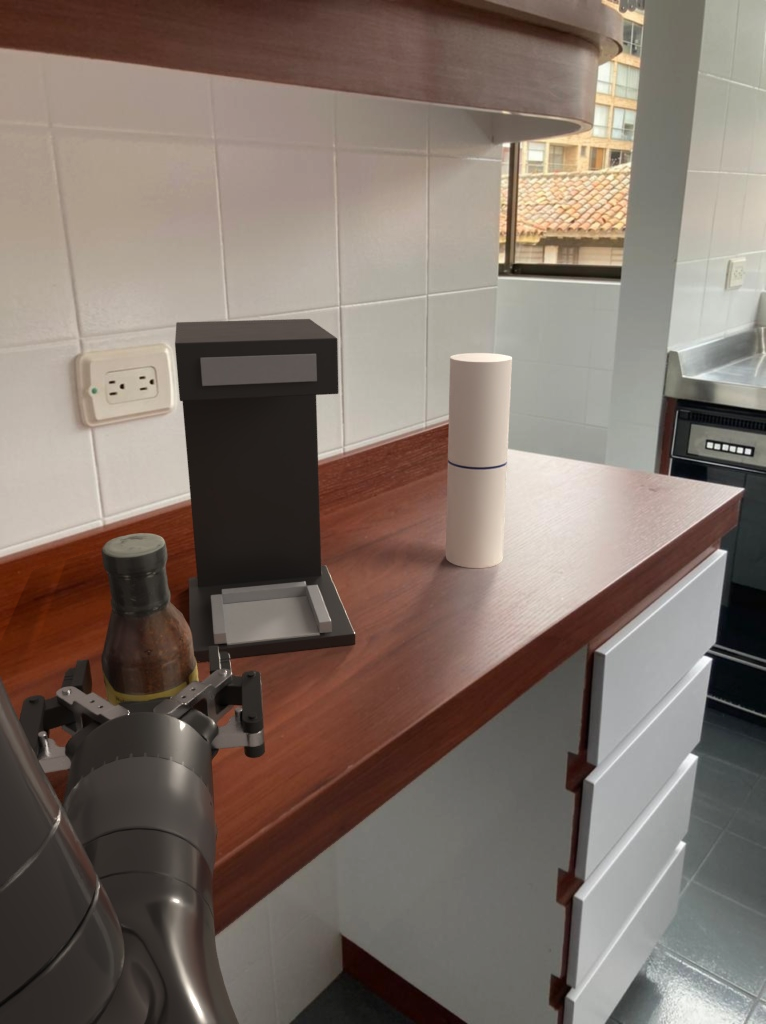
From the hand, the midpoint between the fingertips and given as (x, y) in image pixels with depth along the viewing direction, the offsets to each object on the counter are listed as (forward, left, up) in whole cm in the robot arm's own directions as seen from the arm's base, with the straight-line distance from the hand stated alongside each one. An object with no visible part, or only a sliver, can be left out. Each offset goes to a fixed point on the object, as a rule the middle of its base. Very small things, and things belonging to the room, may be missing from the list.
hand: (150, 664), depth 56 cm
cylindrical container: (+37, +39, -11) cm, 55 cm away
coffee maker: (+10, +29, -11) cm, 32 cm away
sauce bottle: (0, +1, -11) cm, 11 cm away
